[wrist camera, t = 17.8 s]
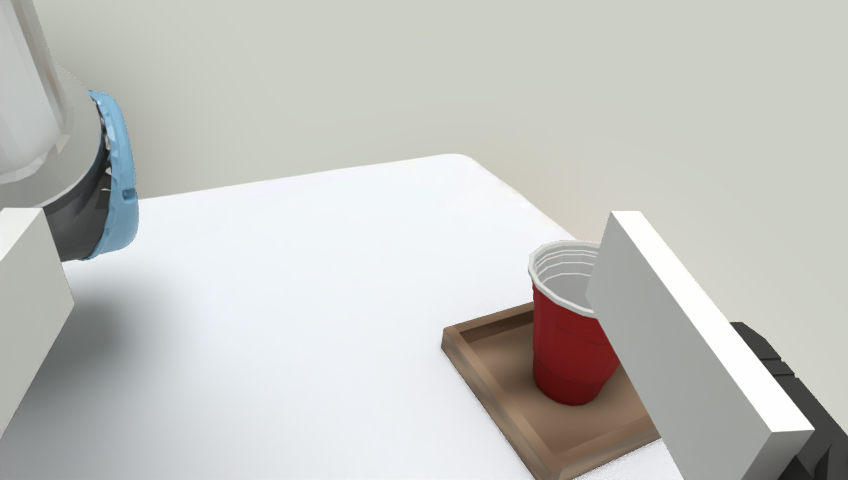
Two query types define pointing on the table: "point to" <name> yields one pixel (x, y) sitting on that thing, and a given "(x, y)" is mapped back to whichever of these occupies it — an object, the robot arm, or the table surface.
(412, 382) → the table surface
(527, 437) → the cup tray
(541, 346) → the plastic cup
